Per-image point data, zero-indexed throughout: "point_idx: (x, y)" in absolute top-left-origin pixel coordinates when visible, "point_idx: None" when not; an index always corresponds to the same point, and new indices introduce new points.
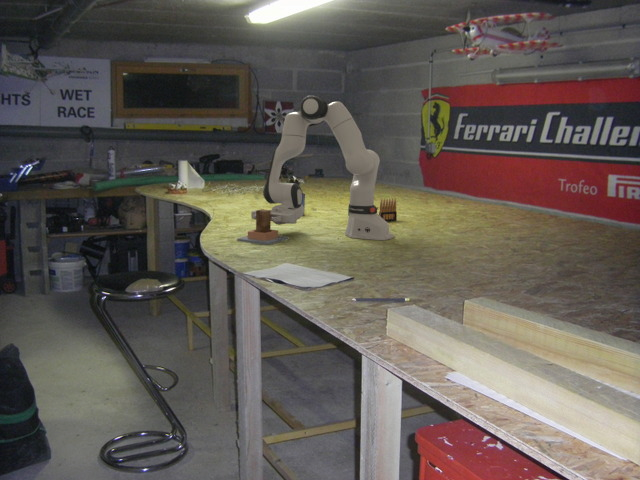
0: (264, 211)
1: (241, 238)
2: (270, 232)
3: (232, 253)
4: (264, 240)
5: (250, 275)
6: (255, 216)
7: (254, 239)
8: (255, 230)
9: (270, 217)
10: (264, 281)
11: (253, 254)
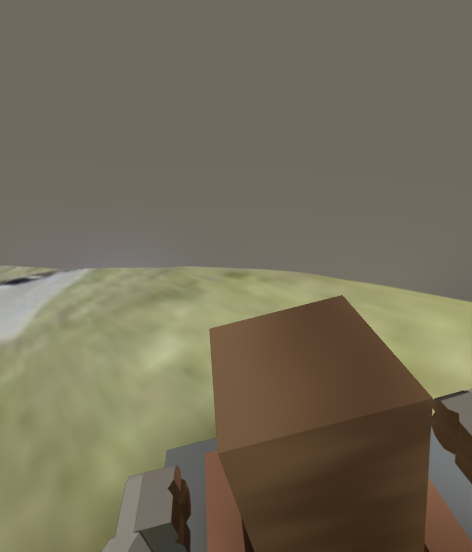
0: (215, 327)
1: None
2: (212, 530)
3: (205, 297)
4: None
5: (74, 269)
6: (439, 400)
7: None
8: None
9: (247, 531)
10: (42, 271)
11: (142, 326)
